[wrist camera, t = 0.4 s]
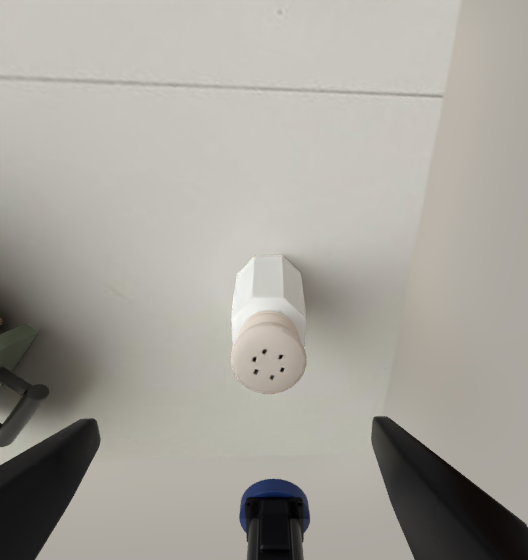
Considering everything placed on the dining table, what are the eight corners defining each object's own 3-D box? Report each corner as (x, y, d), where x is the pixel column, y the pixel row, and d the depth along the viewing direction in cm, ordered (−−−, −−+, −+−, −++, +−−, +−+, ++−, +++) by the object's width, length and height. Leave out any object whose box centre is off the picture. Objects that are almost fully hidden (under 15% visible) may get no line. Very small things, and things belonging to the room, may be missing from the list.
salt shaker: (313, 267, 19) (371, 325, 8) (287, 327, 20) (307, 445, 10) (248, 242, 19) (220, 268, 8) (226, 304, 20) (175, 400, 9)
